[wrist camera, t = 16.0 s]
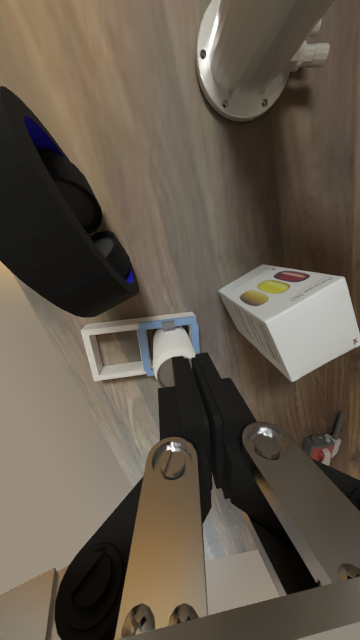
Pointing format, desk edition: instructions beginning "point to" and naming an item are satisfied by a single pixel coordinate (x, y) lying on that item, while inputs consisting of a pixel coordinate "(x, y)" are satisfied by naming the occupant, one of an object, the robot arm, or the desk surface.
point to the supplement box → (293, 316)
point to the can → (169, 352)
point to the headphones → (55, 221)
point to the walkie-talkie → (324, 444)
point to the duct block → (141, 326)
